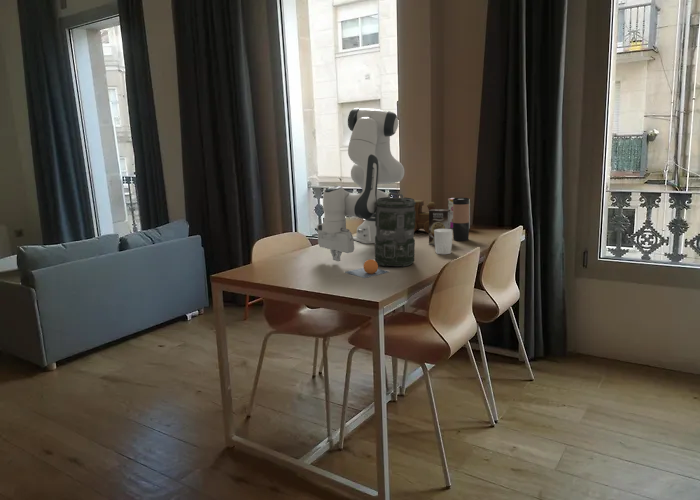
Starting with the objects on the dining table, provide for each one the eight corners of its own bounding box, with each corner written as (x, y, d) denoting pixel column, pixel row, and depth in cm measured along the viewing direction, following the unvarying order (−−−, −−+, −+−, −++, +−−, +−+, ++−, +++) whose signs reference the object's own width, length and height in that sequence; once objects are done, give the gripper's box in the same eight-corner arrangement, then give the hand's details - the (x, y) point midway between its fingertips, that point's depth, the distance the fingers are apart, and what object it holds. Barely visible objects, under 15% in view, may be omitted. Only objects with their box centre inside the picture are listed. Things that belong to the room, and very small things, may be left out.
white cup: (452, 254, 227) (452, 231, 225) (433, 254, 229) (433, 231, 227) (452, 251, 235) (452, 228, 233) (434, 250, 236) (434, 228, 234)
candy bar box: (447, 228, 291) (447, 198, 288) (452, 227, 295) (452, 197, 291) (465, 230, 284) (465, 199, 280) (470, 229, 287) (470, 198, 284)
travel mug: (469, 238, 261) (470, 197, 257) (468, 241, 254) (468, 199, 250) (454, 238, 264) (454, 197, 260) (451, 240, 257) (451, 199, 253)
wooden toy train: (400, 233, 284) (400, 202, 280) (407, 229, 294) (407, 199, 291) (437, 234, 276) (437, 202, 272) (443, 230, 286) (443, 199, 282)
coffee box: (428, 244, 250) (428, 210, 247) (431, 242, 256) (431, 208, 253) (447, 245, 247) (447, 210, 244) (450, 242, 253) (450, 208, 250)
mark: (344, 272, 204) (344, 271, 204) (368, 267, 211) (368, 266, 211) (364, 278, 195) (364, 277, 195) (389, 272, 202) (389, 271, 202)
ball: (366, 258, 197) (371, 271, 196) (377, 256, 200) (382, 269, 199) (358, 263, 201) (363, 277, 200) (370, 261, 204) (375, 274, 203)
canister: (422, 262, 215) (424, 193, 209) (397, 269, 204) (398, 197, 198) (392, 256, 226) (393, 190, 220) (366, 262, 215) (367, 193, 209)
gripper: (357, 228, 208) (358, 263, 211) (326, 223, 224) (328, 255, 227) (344, 230, 205) (346, 265, 207) (314, 225, 221) (316, 258, 223)
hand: (336, 260), depth 217 cm, fingers closed
